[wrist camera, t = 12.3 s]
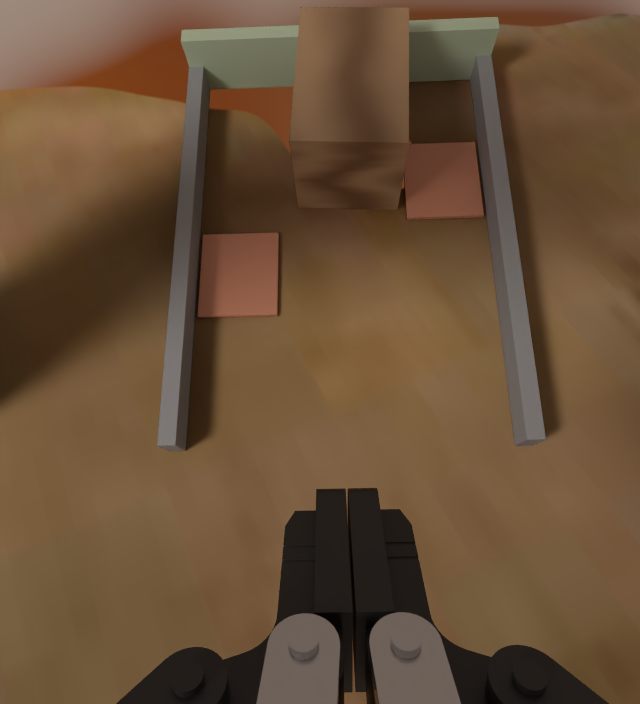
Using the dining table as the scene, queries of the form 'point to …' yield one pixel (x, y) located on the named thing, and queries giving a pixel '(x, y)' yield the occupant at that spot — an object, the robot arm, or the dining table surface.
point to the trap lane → (420, 194)
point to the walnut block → (350, 107)
